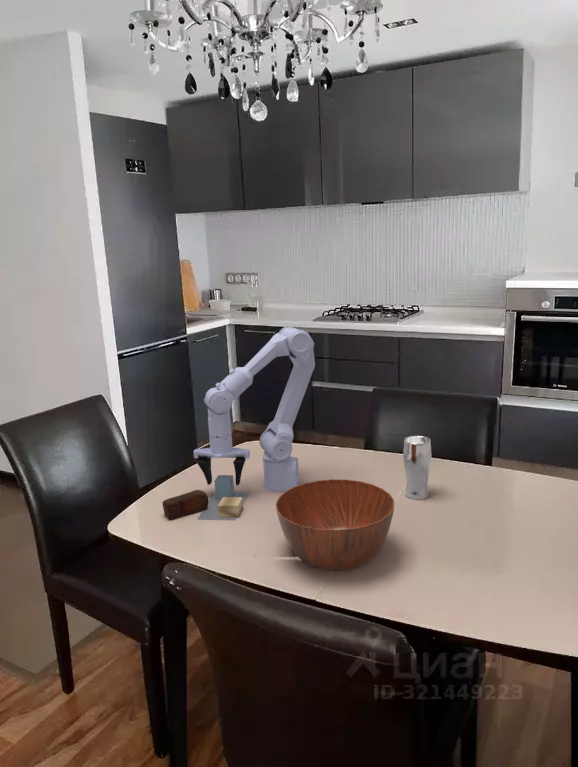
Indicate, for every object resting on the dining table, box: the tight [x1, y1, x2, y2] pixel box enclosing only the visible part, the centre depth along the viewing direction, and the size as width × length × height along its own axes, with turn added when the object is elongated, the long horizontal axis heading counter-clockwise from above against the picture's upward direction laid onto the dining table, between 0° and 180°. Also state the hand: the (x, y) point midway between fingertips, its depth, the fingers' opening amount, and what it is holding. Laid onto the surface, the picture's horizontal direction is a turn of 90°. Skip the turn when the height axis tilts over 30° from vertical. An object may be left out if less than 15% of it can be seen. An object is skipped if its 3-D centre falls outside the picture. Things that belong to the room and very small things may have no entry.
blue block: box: [214, 474, 235, 499], centre depth 158 cm, size 4×4×5 cm
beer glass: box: [402, 435, 432, 500], centre depth 154 cm, size 7×7×15 cm
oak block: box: [218, 497, 244, 518], centre depth 148 cm, size 5×5×3 cm
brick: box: [161, 489, 209, 521], centre depth 150 cm, size 11×4×5 cm, turn 122°
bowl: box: [275, 478, 395, 571], centre depth 128 cm, size 25×25×11 cm
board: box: [197, 490, 250, 521], centre depth 153 cm, size 10×17×1 cm, turn 172°
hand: (223, 483), depth 158 cm, fingers open, 7 cm apart
